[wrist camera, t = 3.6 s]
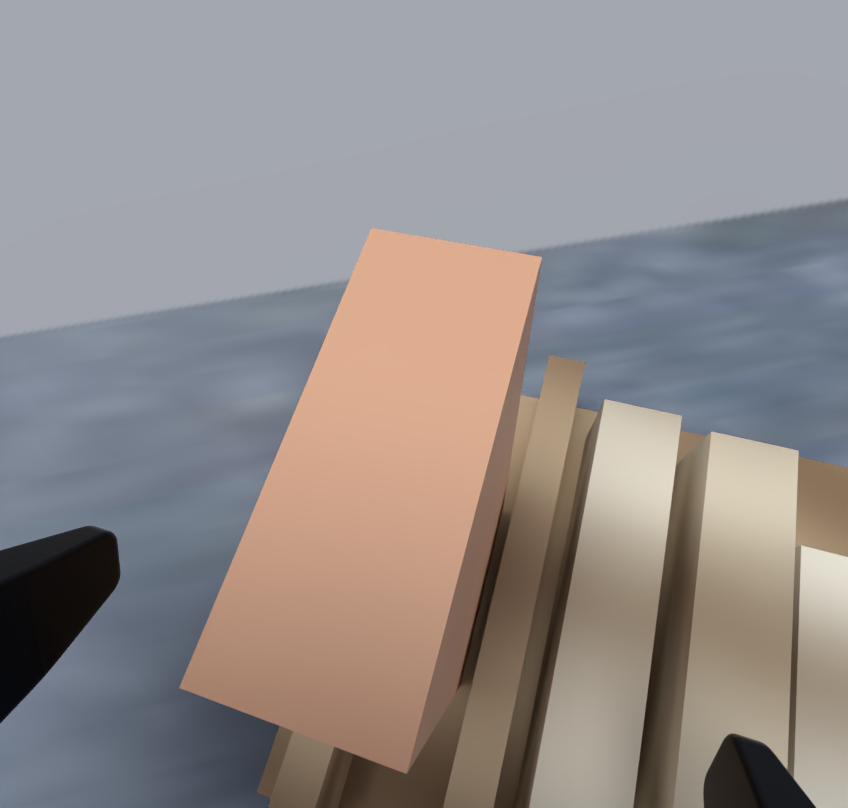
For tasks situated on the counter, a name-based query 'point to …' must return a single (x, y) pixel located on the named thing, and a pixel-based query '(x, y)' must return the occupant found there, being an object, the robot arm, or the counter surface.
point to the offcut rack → (629, 626)
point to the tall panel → (380, 505)
